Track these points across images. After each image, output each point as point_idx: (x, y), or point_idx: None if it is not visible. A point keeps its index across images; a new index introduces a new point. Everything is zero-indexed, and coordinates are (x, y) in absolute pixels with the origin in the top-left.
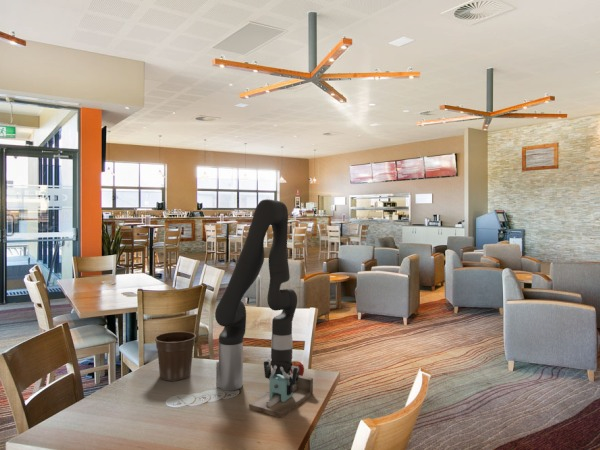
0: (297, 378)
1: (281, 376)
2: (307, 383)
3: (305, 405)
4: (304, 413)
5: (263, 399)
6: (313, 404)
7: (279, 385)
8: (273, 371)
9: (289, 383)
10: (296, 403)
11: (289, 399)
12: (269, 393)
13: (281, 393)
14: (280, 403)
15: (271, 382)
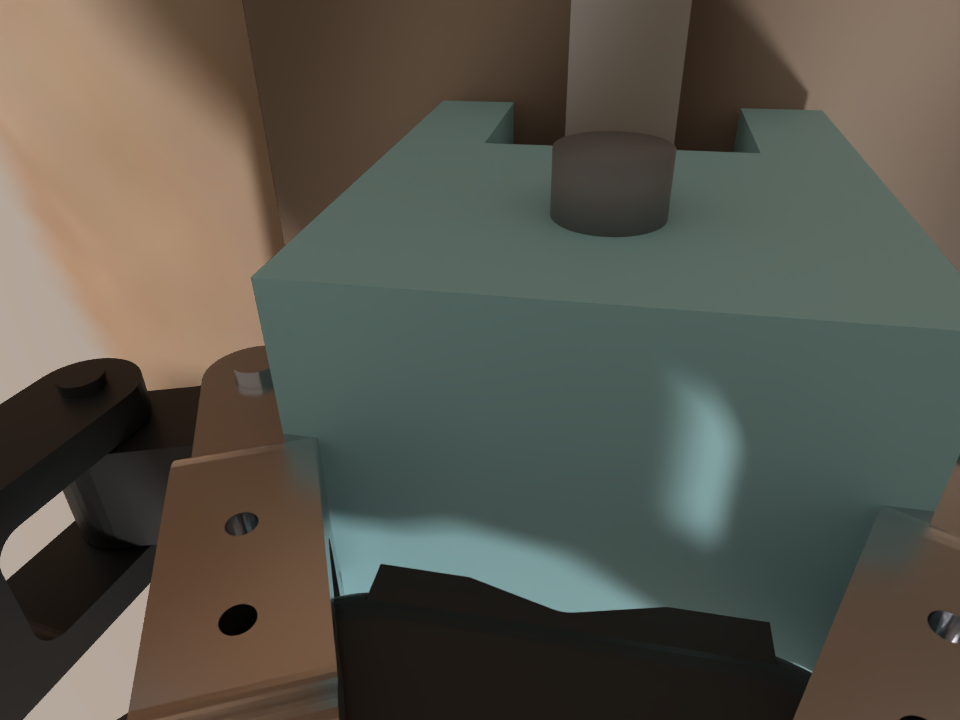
0: (27, 572)
1: None
2: None
3: (239, 296)
4: (70, 47)
5: (955, 4)
6: (184, 364)
7: (498, 225)
8: (947, 708)
9: (226, 377)
10: (291, 222)
11: None
12: (845, 142)
13: (467, 147)
14: (487, 28)
15: (855, 261)
